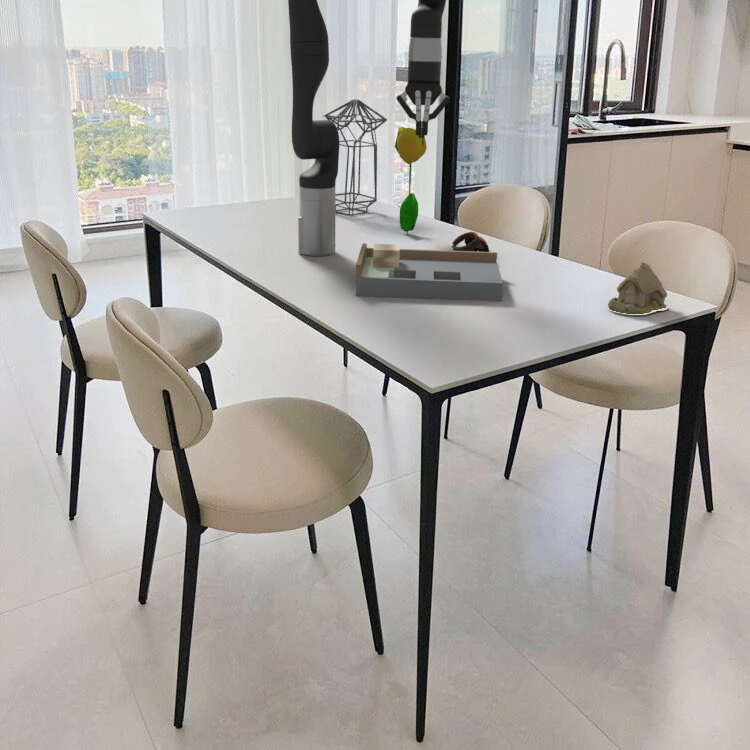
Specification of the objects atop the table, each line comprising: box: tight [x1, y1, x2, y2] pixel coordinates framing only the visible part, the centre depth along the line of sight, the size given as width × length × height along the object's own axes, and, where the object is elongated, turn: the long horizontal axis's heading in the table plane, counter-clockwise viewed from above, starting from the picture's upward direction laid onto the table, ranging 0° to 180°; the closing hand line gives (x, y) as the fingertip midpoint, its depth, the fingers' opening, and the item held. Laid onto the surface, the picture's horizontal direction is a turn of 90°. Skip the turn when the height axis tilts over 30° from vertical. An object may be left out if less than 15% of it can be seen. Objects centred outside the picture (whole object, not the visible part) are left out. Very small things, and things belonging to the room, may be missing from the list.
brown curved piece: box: [451, 231, 490, 252], centre depth 217 cm, size 12×10×8 cm
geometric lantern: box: [322, 98, 388, 216], centre depth 265 cm, size 16×16×35 cm
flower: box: [394, 126, 427, 235], centre depth 238 cm, size 9×8×30 cm
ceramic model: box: [607, 262, 668, 314], centre depth 179 cm, size 14×11×10 cm
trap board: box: [355, 243, 504, 302], centre depth 192 cm, size 32×20×7 cm, turn 87°
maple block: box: [372, 243, 401, 268], centre depth 194 cm, size 6×6×4 cm
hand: (421, 137), depth 199 cm, fingers closed
